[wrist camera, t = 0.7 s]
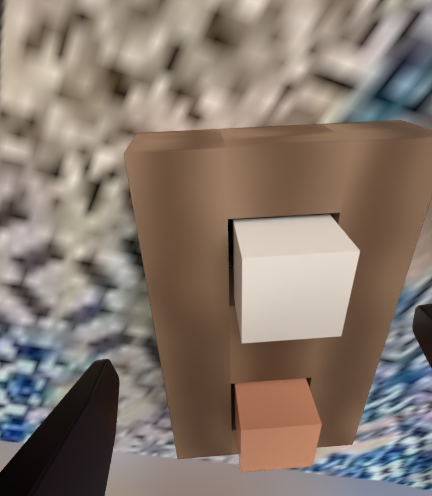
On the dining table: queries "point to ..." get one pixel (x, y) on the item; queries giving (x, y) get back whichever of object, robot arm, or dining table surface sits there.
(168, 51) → the dining table surface
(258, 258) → the white square block
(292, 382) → the terracotta plunger
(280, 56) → the dining table surface
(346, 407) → the button panel
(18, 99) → the dining table surface
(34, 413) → the dining table surface
